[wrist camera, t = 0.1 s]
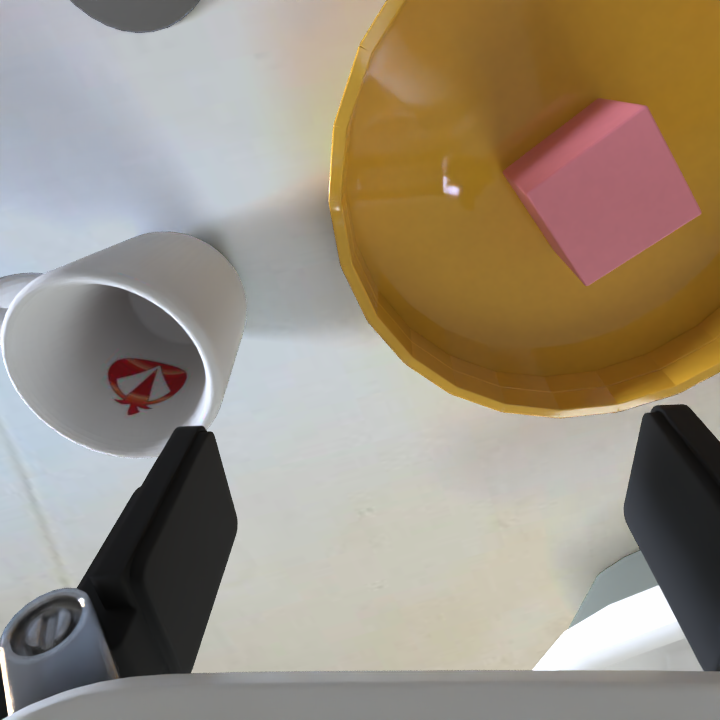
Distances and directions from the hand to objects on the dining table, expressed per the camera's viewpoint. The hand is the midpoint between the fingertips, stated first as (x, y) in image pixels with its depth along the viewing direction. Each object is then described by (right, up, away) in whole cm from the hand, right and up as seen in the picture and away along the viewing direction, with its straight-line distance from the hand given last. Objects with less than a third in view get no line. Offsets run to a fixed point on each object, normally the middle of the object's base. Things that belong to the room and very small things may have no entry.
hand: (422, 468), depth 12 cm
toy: (+8, +10, +10) cm, 16 cm away
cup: (-11, +6, +14) cm, 19 cm away
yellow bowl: (+8, +10, +11) cm, 17 cm away
